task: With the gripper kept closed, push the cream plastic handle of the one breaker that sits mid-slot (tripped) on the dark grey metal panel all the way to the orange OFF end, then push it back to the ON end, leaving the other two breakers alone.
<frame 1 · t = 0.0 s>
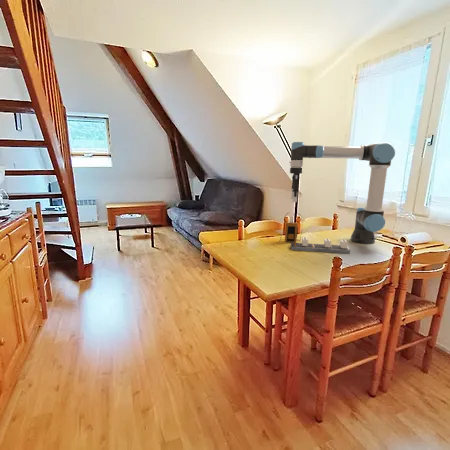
hand: (293, 200, 189), 28 cm above the table, fingers open, 13 cm apart
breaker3: (304, 241, 180), point 4 cm above the table, slide at 3.0 cm
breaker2: (327, 242, 178), point 4 cm above the table, slide at 0.0 cm
panel: (319, 249, 180), on the table
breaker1: (343, 243, 177), point 4 cm above the table, slide at 0.0 cm
multimeter: (289, 240, 199), on the table
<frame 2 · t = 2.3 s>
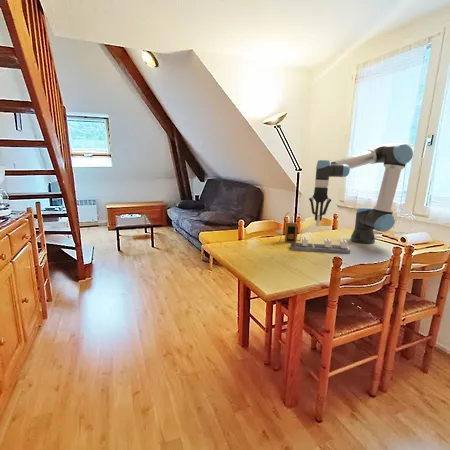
hand: (317, 225, 177), 15 cm above the table, fingers closed
nothing on the table moved.
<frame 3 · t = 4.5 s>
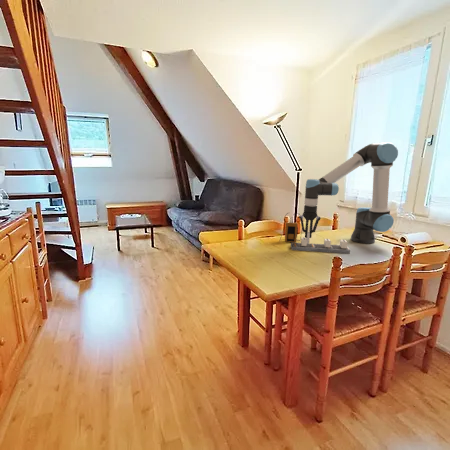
hand: (307, 242, 180), 4 cm above the table, fingers closed
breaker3: (303, 241, 180), point 4 cm above the table, slide at 3.5 cm, touching gripper
everything else where it was.
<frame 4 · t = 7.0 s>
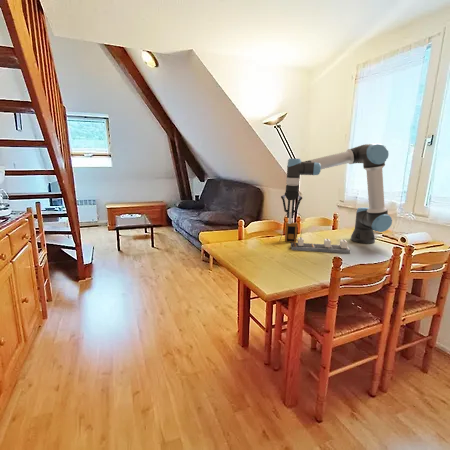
hand: (289, 223, 179), 16 cm above the table, fingers closed
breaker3: (300, 241, 181), point 4 cm above the table, slide at 5.5 cm
everything else where it was.
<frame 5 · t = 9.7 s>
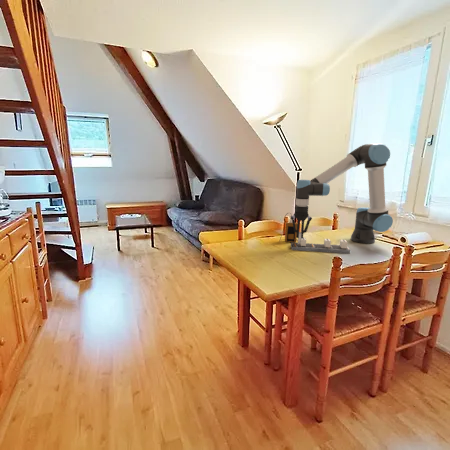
hand: (299, 242, 181), 3 cm above the table, fingers closed
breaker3: (303, 241, 180), point 4 cm above the table, slide at 4.0 cm, touching gripper
everything else where it was.
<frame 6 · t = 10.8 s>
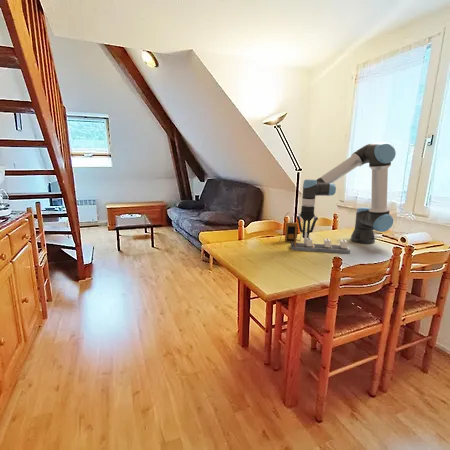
hand: (305, 242, 180), 4 cm above the table, fingers closed
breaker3: (308, 241, 180), point 4 cm above the table, slide at 0.5 cm, touching gripper
everything else where it was.
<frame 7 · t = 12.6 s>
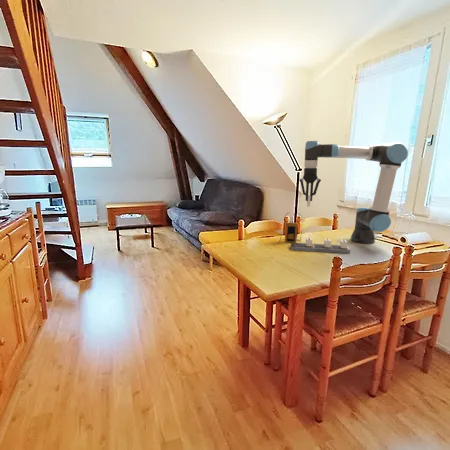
hand: (308, 206, 180), 26 cm above the table, fingers closed
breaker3: (308, 241, 180), point 4 cm above the table, slide at 0.5 cm
everything else where it was.
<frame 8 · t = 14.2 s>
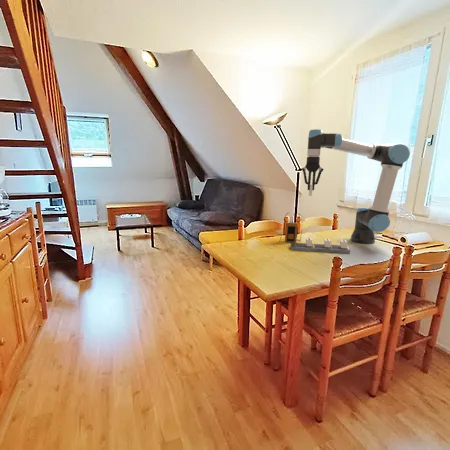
hand: (310, 195, 180), 32 cm above the table, fingers closed
nothing on the table moved.
at the end: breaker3 slide at 0.5 cm; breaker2 slide at 0.0 cm; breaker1 slide at 0.0 cm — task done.
